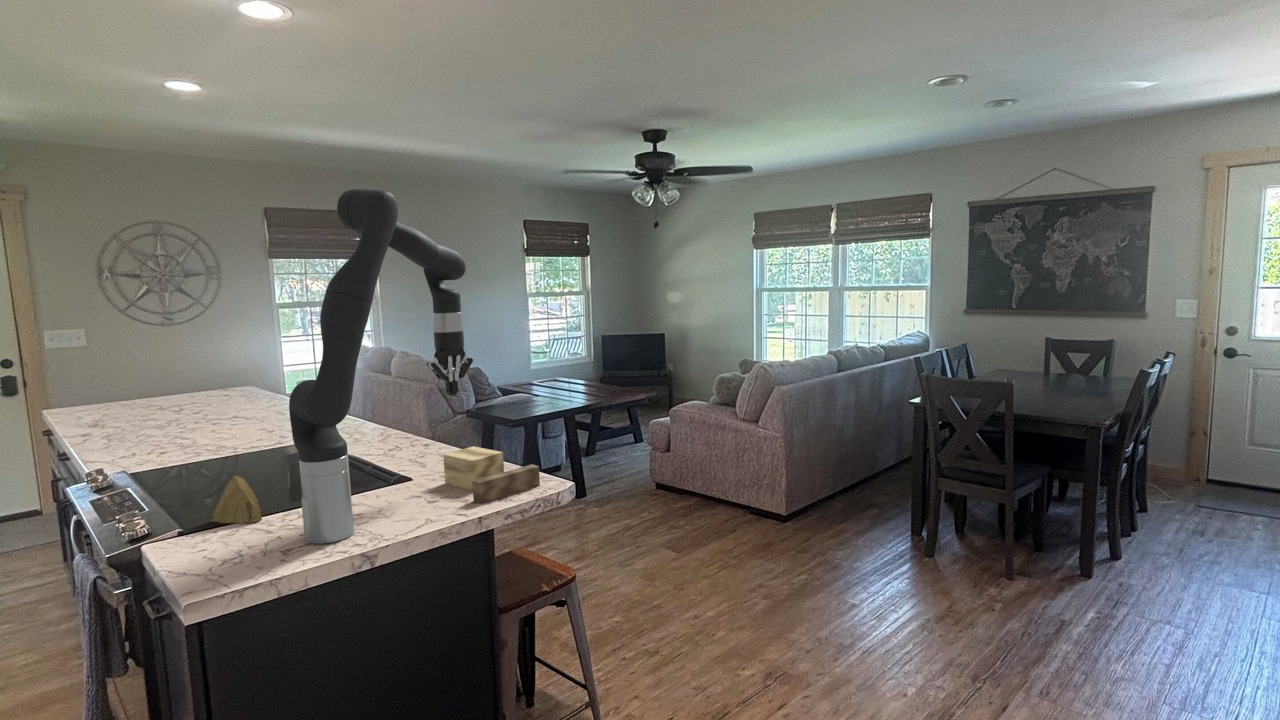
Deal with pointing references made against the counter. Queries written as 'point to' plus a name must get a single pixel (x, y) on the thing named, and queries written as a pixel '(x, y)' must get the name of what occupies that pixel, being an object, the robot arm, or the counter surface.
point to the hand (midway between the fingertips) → (452, 395)
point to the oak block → (471, 465)
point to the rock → (237, 504)
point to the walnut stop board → (505, 483)
